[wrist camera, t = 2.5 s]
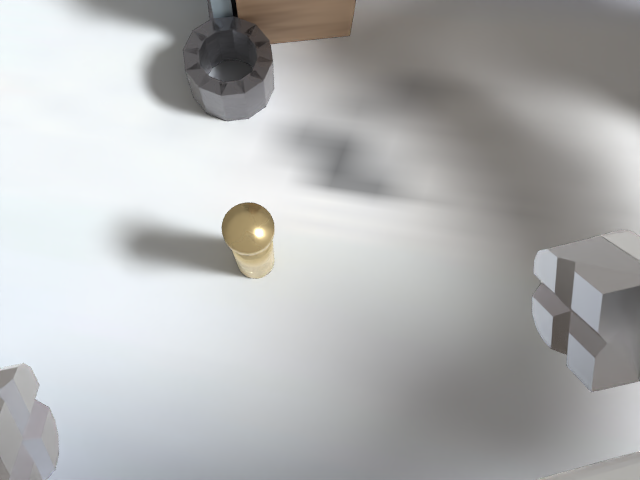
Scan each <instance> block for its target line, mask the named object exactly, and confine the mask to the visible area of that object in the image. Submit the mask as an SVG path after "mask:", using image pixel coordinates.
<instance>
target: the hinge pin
mask: <svg viewBox="0 0 640 480" xmlns="http://www.w3.org/2000/svg"><path fill="white" fill-rule="evenodd" d="M222 234H223V237H224V240H225V242H226V244H227V245H228V246H229V248H230V249H232V252H233V254H234V257H235V260H236V262H237V265H238V267H239V269H240V271H241V272H242V273H243V274H244V275H245V276H247V277H249V278H253V279H257V278H262V277H264V276H266V275H267V274H268V273H269V272H270V271H271V270H272V268H273V266H274V251H273V241H272V240H273V237H274V222H273V218H272V216H271V214H270V213H269V212H268V211H267V210H266V209H265V208H264V207H262V206H261V205H258V204H255V203H241V204H238V205H236V206H234V207H233V208H231V209H230V210H229V211H228V212H227V214H226V215H225V217H224V219H223V222H222Z"/></svg>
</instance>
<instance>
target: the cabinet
mask: <svg viewBox="0 0 640 480" xmlns="http://www.w3.org/2000/svg"><path fill="white" fill-rule="evenodd" d="M355 3H356V0H236V6H237V14H238V18H240V19H243V20H246V21H248V22H251V23H254V24H256V25H257V26H258V27H259V29H260V30H261V31H262V32H263V33H264V34H265V36H266V37H267V38H268V39H269V40H270V44H275V43H284V42H294V41H304V40H313V39H323V38H333V37H342V36H350V32H351V26H352V20H353V15H354V9H355Z"/></svg>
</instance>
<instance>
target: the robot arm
mask: <svg viewBox="0 0 640 480" xmlns="http://www.w3.org/2000/svg"><path fill="white" fill-rule="evenodd" d="M533 273H534V275H535V276H536V277H537V278H538V279H539V280H540V282H541V284H540V285H539V287H538V288H537V290H536V291H535V293H534V294H533V296H532V315H533V318H534V322H535V325H536V329H537V330H538V332H539V334H540V336H541V338H542V339H543V340H544V342H545V343H546V344H547V345H548V346H549V347H550V348H551V349H553V350H556V351H558V352H561V353H563V354H566V355H567V364H566V366H567V367H568V368H569V369H570V370H571V371H572V372H573V373H574V374H575V375H576V376H577V377H578V379H579V380H580V381H581V382H582V383H583V384H584V385H585V386H586V387H587V388H588V389H589V390H590V391H591V392H594V391H599V390H603V389H608V388H612V387H616V386H621V385H625V384H630V383H634V382H638V381H640V236H638V235H637V234H635V233H633V232H632V231H628V230H618V231H614V232H610V233H606V234H603V235H599V236H595V237H592V238H588V239H584V240H580V241H576V242H572V243H568V244H564V245H560V246H556V247H551V248H547V249H543V250H539V251H538V252H537V254H536V257H535V259H534V272H533ZM38 388H39V383H38V381H37V379H36V377H35V374H34V372H33V370H32V368H31V367H29V366H28V365H26V364H24V363H22V364H17V365H12V366H7V367H2V368H0V480H46V479H47V478H48V477H49V476H50V475H51V474H52V473H53V472H54V471H55V470H56V465H57V460H58V456H59V439H58V431H57V427H56V423H55V419H54V417H53V415H52V412H51V410H50V407H48V406H46V405H44V404H43V403H41V402H39V401H37V400H36V399H35V398H36V394H37V391H38ZM536 480H640V451H638V452H634V453H631V454H627V455H624V456H620V457H616V458H613V459H609V460H605V461H602V462H598V463H594V464H591V465H587V466H583V467H580V468H576V469H572V470H569V471H565V472H562V473H558V474H554V475H551V476H547V477H543V478H540V479H536Z"/></svg>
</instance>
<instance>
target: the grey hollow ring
mask: <svg viewBox="0 0 640 480" xmlns="http://www.w3.org/2000/svg"><path fill="white" fill-rule="evenodd" d="M208 9H209V17H210V20H209V21H207V22H206V23H204V24H203V25H201V26H199V27H198V28H196V29H195V30H193V31H192V33H191V35H190V37H189V39H188V41H187V43H186V45H185V47H184V49H183V54H184V63H185V71H186V74H187V78H188V81H189V84H190V87H191V90H192V93H193V97H194V98H195V100H196V101H197V102H198V103H199V105H200V106H201V107H202V108H203V109H204V111H205V112H206V113H207V114H210V115H212V116H215V117H217V118H220V119H223V120H225V121H232V120H241V119H249V118H250V117H252V116H253V115H254V114H256V113H257V112H259V111H260V110H262V109H263V108H265V107H266V105H267V103H268V101H269V99H270V96H271V94H272V92H273V90H274V75H273V59H272V52H271V45H270V40H269V39H268V38H267V37H266V36H265V34H264V33H263V32H262V31H261V30H260V29H259V27H258V26H257V25H256V24H254V23H251V22H248V21H246V20H243V19H240V18H238V17H235V16H233V17H223V18H214V17H213V12H212V7H211V2H210V0H208ZM227 60H240V61H242V62H245V63H247V64H250V65H251V66H252V68H253V70H252V72H250V73H249V74H247V75H246V76H245V77H243V78H242V79H240V80H236V81H227V82H223V81H220V80H217V79H215V78H212V77H210V76H209V73H210V71H211V69H212V68H213V67H215V66H216V65H218V64H219V63H221V62H222V61H227Z"/></svg>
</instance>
